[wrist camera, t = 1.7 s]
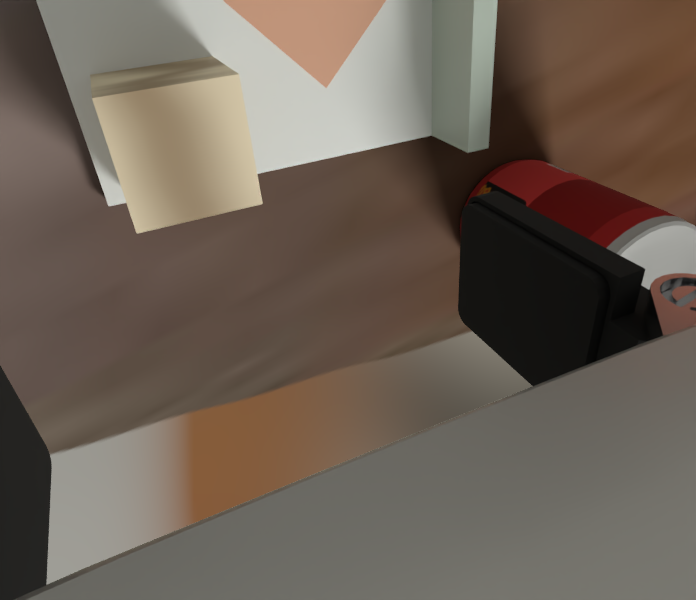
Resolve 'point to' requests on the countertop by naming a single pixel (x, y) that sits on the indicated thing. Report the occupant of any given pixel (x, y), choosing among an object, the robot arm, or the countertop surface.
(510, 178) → the canned food
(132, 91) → the cube
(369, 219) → the countertop surface
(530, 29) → the countertop surface
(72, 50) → the arena
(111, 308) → the countertop surface
